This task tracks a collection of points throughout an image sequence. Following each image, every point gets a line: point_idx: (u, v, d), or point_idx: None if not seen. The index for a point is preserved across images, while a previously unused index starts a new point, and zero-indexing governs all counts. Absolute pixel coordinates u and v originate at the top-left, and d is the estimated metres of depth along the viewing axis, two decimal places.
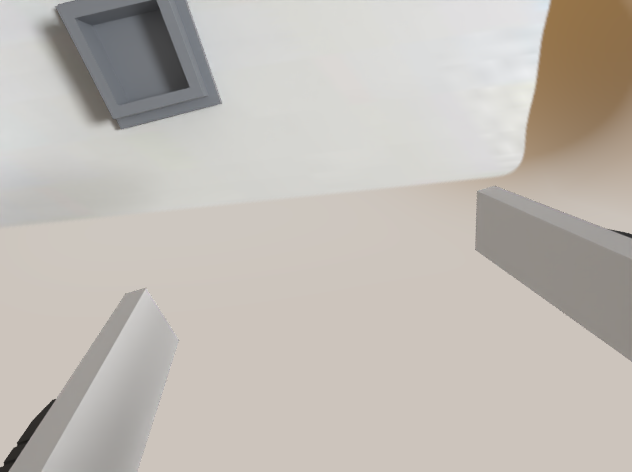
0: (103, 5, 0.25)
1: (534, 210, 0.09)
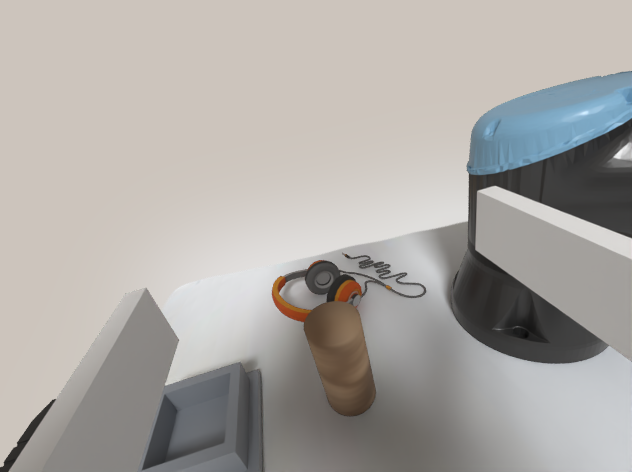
0: (232, 394, 0.28)
1: (534, 210, 0.09)
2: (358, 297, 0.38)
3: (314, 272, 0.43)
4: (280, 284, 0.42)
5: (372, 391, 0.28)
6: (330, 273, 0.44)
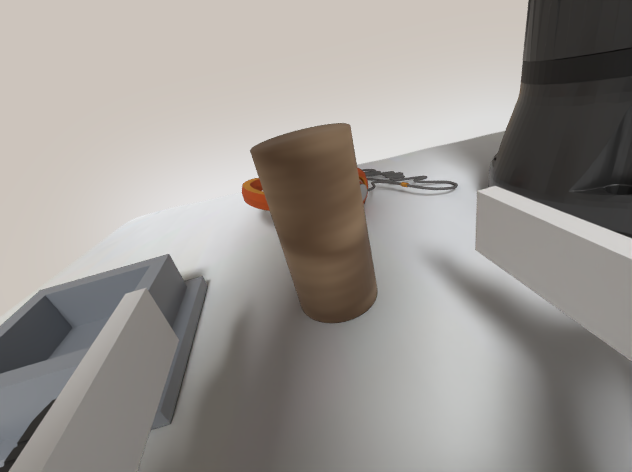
0: (141, 286, 0.17)
1: (534, 210, 0.09)
2: (364, 187, 0.27)
3: None
4: (255, 184, 0.31)
5: (372, 283, 0.17)
6: None
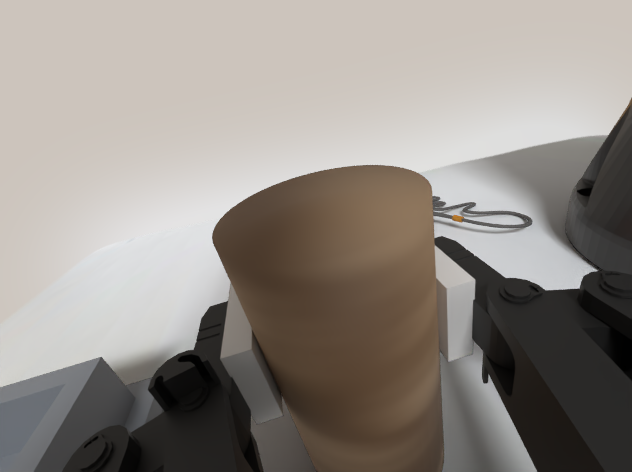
0: (30, 450, 0.10)
1: None
2: None
3: None
4: None
5: (441, 444, 0.10)
6: None
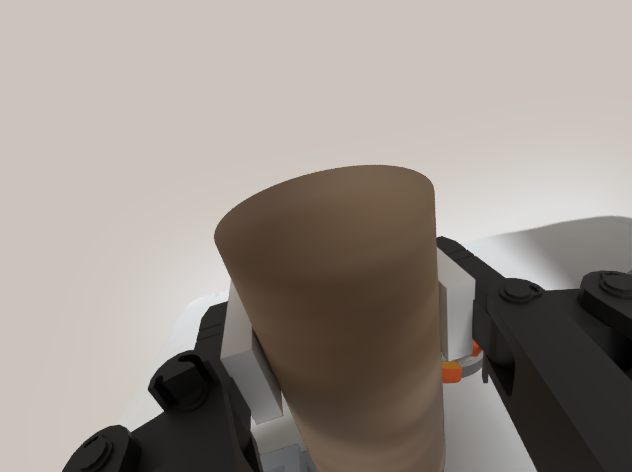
0: None
1: None
2: None
3: None
4: None
5: (443, 445, 0.10)
6: None
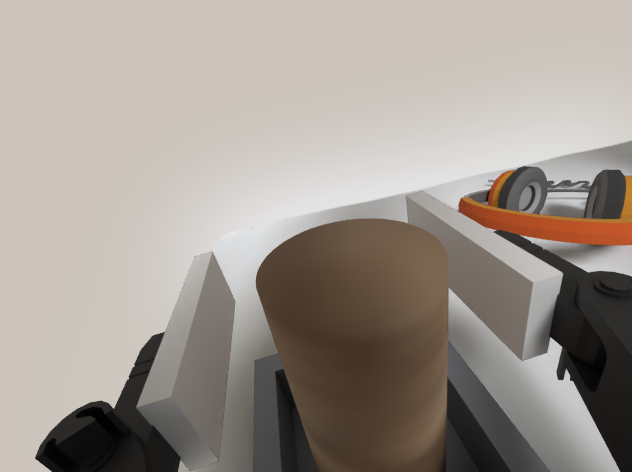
0: (453, 370, 0.12)
1: (442, 213, 0.10)
2: None
3: (523, 183, 0.24)
4: None
5: None
6: (538, 188, 0.25)
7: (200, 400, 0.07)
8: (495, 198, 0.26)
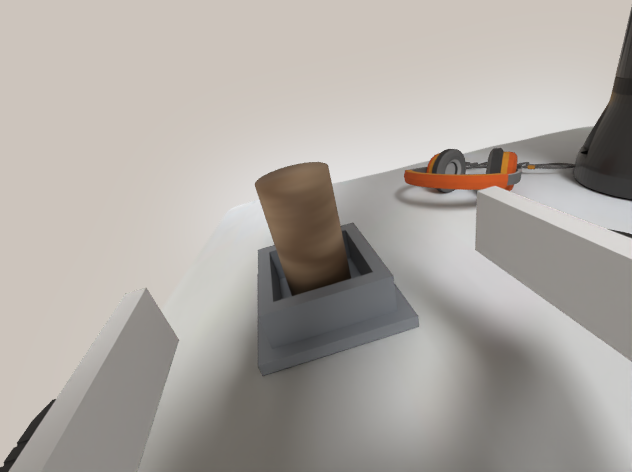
0: (358, 242, 0.24)
1: (534, 210, 0.09)
2: None
3: (446, 160, 0.35)
4: None
5: None
6: (459, 164, 0.37)
7: None
8: (430, 171, 0.37)
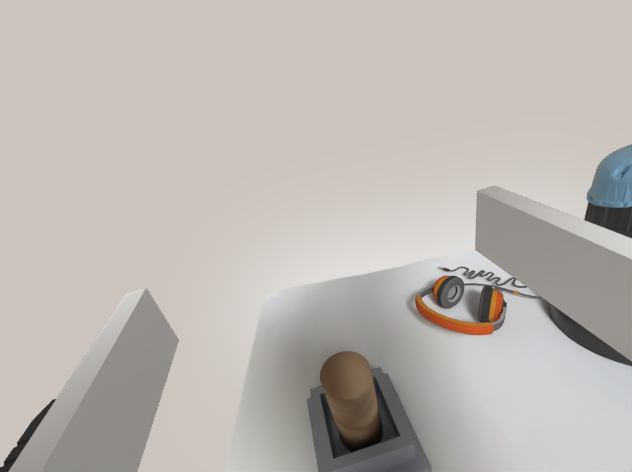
0: (386, 395, 0.33)
1: (534, 210, 0.09)
2: (506, 304, 0.42)
3: (448, 288, 0.45)
4: None
5: (380, 431, 0.32)
6: (458, 287, 0.47)
7: None
8: (435, 293, 0.47)
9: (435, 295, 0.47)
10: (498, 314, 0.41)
